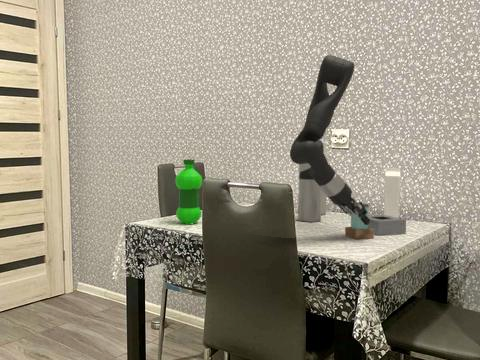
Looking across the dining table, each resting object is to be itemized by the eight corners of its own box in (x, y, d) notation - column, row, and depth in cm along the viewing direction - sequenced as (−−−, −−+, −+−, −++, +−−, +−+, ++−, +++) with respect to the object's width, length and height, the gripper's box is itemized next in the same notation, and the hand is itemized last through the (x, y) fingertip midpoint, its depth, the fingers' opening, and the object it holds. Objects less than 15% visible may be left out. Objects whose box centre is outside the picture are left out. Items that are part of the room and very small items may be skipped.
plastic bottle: (179, 225, 180) (179, 160, 178) (173, 221, 190) (173, 159, 188) (204, 224, 184) (204, 160, 182) (197, 220, 194) (198, 159, 192)
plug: (357, 236, 160) (358, 204, 159) (350, 234, 164) (351, 203, 163) (367, 236, 162) (368, 204, 161) (360, 233, 165) (361, 202, 165)
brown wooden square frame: (356, 239, 158) (356, 230, 158) (345, 235, 165) (345, 227, 164) (373, 238, 161) (373, 229, 161) (361, 234, 167) (361, 226, 167)
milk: (384, 218, 203) (385, 167, 202) (398, 219, 202) (400, 167, 200) (383, 220, 198) (385, 168, 196) (399, 221, 196) (400, 168, 194)
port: (378, 235, 165) (378, 221, 165) (357, 229, 177) (358, 216, 176) (405, 233, 170) (406, 219, 169) (384, 227, 181) (384, 214, 181)
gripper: (354, 181, 152) (384, 217, 157) (330, 178, 165) (358, 211, 171) (339, 198, 150) (370, 234, 156) (316, 193, 164) (345, 226, 169)
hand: (364, 221), depth 163 cm, fingers closed on plug, 4 cm apart
